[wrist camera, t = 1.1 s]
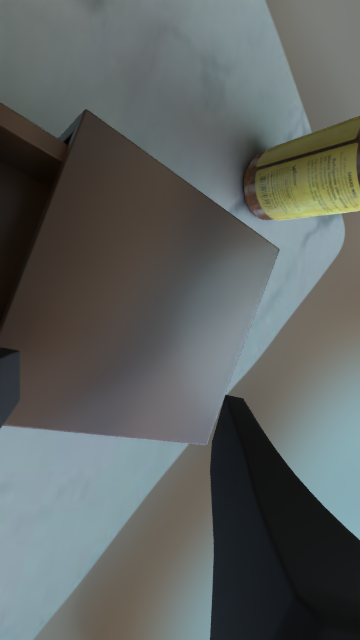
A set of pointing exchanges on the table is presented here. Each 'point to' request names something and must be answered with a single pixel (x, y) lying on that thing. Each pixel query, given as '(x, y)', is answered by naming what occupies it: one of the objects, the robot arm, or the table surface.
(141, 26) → the table surface
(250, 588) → the robot arm
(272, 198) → the sauce bottle
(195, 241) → the cabinet
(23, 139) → the drawer
